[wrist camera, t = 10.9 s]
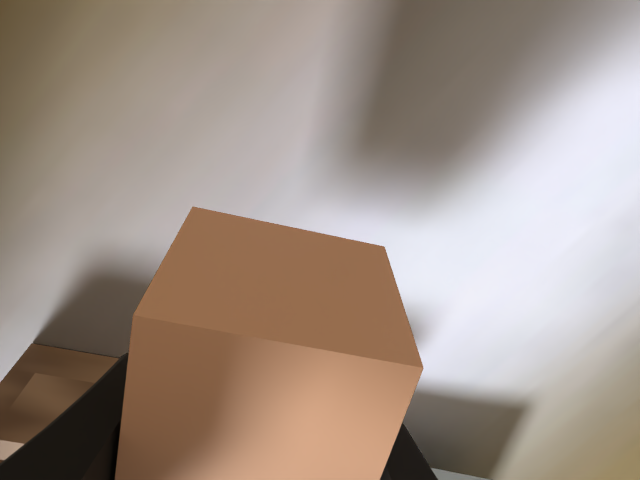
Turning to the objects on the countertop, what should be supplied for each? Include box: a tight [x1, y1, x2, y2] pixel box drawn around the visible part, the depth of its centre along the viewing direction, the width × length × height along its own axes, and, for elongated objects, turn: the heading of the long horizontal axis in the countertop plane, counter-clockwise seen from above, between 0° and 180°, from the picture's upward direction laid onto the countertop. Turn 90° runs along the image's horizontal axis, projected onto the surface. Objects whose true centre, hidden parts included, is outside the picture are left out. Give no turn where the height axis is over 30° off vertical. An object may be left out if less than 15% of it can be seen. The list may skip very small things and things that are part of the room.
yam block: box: [115, 207, 423, 480], centre depth 10 cm, size 4×7×4 cm, turn 167°
